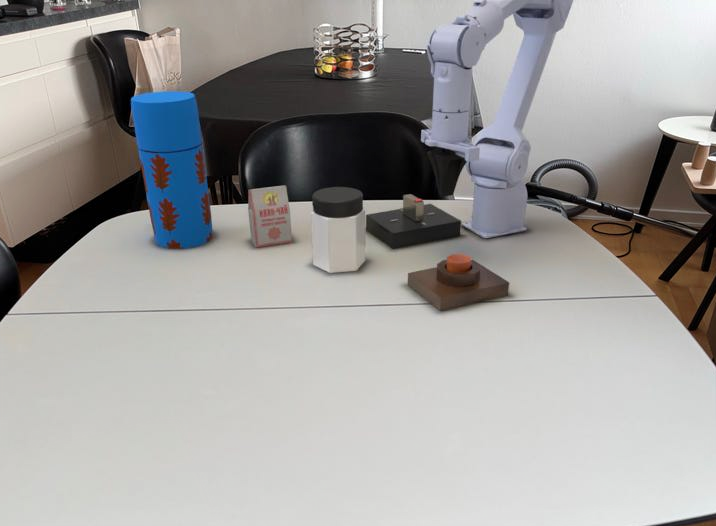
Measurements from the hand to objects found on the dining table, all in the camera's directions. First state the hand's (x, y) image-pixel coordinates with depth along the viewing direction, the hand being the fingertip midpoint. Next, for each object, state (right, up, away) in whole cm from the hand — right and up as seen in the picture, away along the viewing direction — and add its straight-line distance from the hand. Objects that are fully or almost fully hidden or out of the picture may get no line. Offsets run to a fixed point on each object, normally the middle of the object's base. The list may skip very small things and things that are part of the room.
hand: (445, 194), depth 114 cm
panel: (-4, -4, +14) cm, 15 cm away
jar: (-18, -11, +2) cm, 21 cm away
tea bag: (-30, -6, +12) cm, 33 cm away
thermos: (-47, -5, +14) cm, 49 cm away
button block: (+1, -17, -8) cm, 18 cm away
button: (+1, -14, -9) cm, 17 cm away
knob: (-4, -1, +13) cm, 13 cm away
